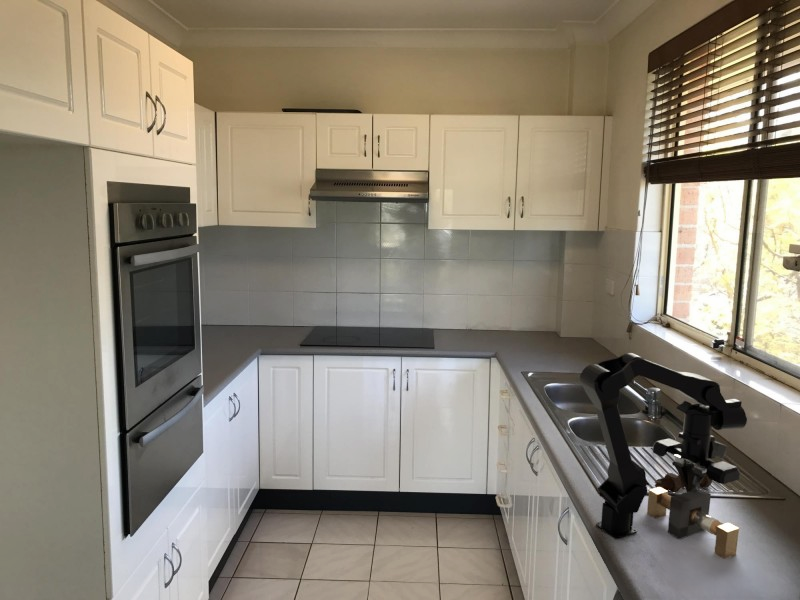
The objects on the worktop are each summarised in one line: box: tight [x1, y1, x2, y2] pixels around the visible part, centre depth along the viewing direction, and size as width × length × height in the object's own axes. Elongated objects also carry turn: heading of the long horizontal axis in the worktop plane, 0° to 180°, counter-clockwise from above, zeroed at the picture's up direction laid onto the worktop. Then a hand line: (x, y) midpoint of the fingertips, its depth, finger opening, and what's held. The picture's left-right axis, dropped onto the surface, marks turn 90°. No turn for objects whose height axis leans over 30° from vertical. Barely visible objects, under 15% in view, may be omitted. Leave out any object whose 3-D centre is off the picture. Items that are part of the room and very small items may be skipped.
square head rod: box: [646, 487, 740, 560], centre depth 136 cm, size 20×4×6 cm, turn 26°
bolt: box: [654, 472, 713, 493], centre depth 158 cm, size 6×5×15 cm
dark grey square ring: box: [667, 488, 712, 540], centre depth 136 cm, size 3×9×9 cm, turn 116°
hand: (690, 494), depth 140 cm, fingers closed
